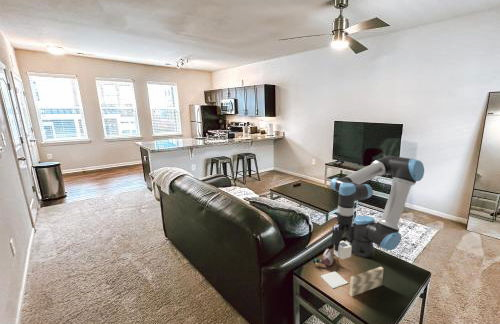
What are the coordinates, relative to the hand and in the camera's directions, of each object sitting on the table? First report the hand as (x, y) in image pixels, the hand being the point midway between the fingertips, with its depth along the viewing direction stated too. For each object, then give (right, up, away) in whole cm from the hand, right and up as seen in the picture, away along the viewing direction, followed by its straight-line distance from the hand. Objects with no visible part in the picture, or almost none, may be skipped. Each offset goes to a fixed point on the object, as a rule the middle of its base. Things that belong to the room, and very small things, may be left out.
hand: (342, 254), depth 123 cm
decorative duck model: (-3, -12, +19) cm, 23 cm away
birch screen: (+11, -16, -4) cm, 20 cm away
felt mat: (-3, -15, +3) cm, 16 cm away
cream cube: (0, 0, 0) cm, 0 cm away
